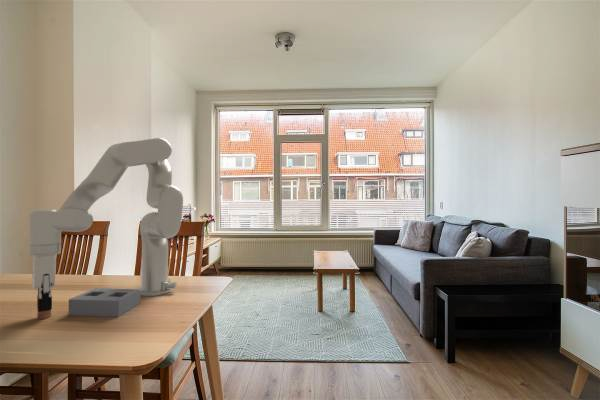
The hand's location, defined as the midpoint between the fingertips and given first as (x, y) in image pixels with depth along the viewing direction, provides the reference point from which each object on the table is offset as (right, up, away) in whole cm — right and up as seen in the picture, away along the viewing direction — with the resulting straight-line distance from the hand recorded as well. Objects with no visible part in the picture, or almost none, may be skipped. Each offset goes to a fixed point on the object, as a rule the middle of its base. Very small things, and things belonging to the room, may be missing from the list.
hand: (44, 308), depth 93 cm
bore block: (+14, -3, +8) cm, 16 cm away
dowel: (0, -3, 0) cm, 3 cm away
